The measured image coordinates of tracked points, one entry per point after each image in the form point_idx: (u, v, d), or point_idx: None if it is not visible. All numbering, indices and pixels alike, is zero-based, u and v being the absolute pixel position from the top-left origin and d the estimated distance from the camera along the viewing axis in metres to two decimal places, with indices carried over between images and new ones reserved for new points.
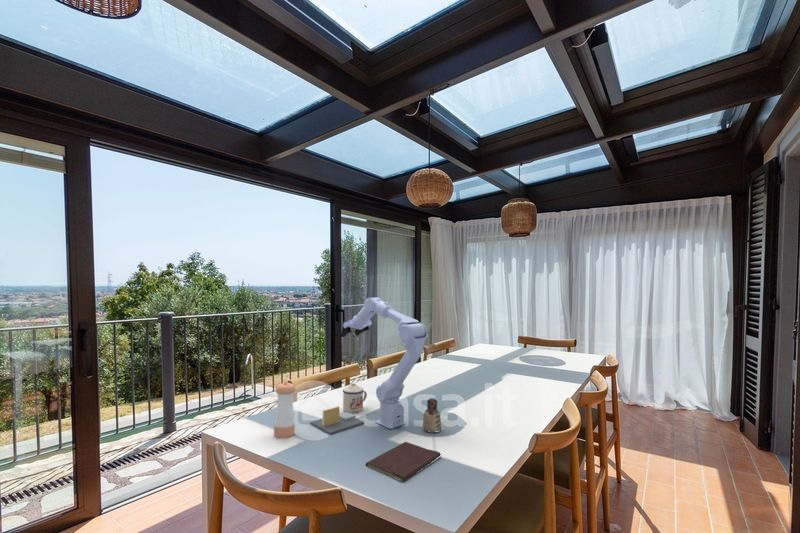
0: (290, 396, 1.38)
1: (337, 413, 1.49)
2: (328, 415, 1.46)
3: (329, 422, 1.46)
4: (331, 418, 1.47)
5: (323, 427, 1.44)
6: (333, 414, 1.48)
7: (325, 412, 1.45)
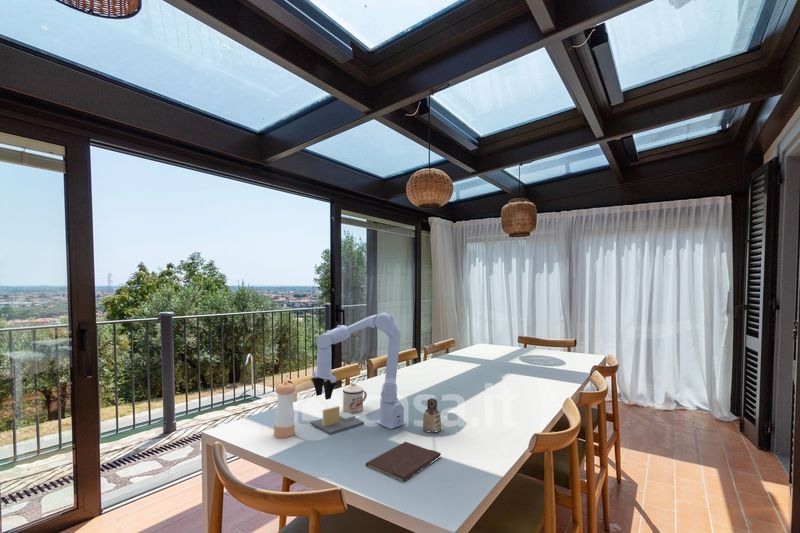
0: (290, 396, 1.38)
1: (337, 413, 1.49)
2: (328, 415, 1.46)
3: (329, 422, 1.46)
4: (331, 418, 1.47)
5: (323, 427, 1.44)
6: (333, 414, 1.48)
7: (325, 412, 1.45)
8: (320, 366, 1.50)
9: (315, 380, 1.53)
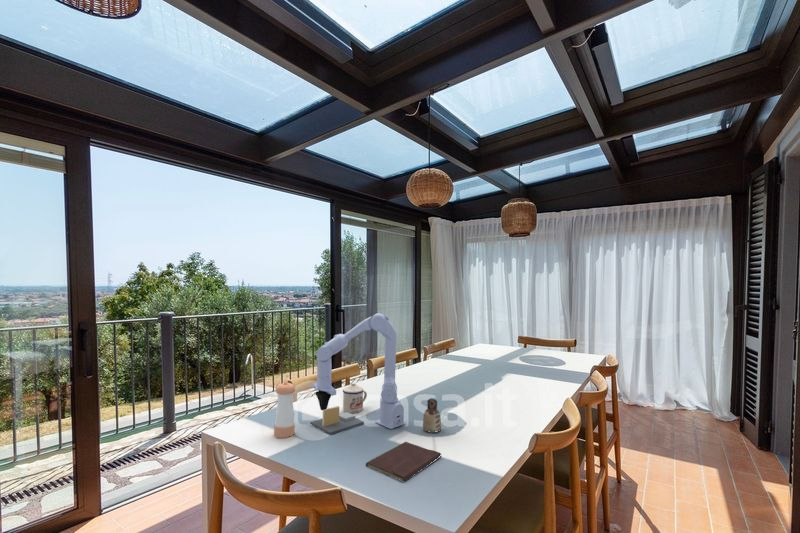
0: (290, 396, 1.38)
1: (337, 413, 1.49)
2: (328, 415, 1.46)
3: (329, 422, 1.46)
4: (331, 418, 1.47)
5: (323, 427, 1.44)
6: (333, 414, 1.48)
7: (325, 412, 1.45)
8: (320, 379, 1.49)
9: None
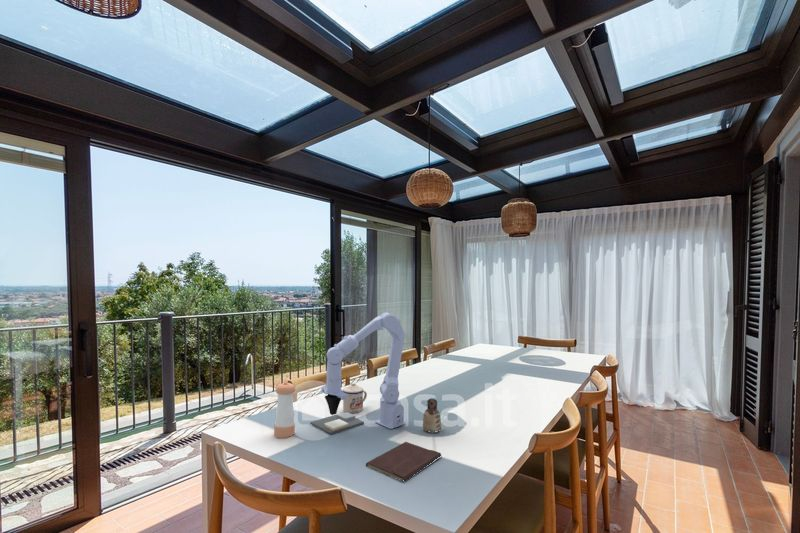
0: (290, 396, 1.38)
1: None
2: None
3: None
4: None
5: (323, 427, 1.44)
6: None
7: None
8: (330, 382, 1.44)
9: None
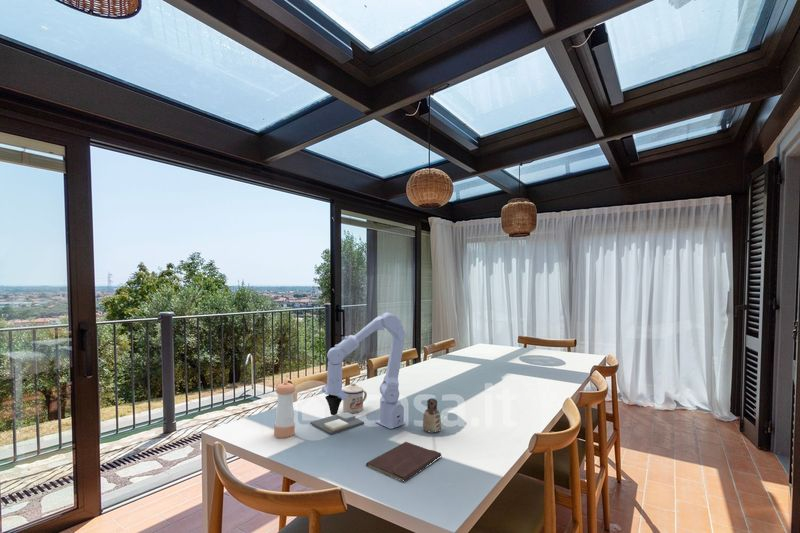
0: (290, 396, 1.38)
1: None
2: None
3: None
4: None
5: (323, 427, 1.44)
6: None
7: None
8: (330, 382, 1.44)
9: None
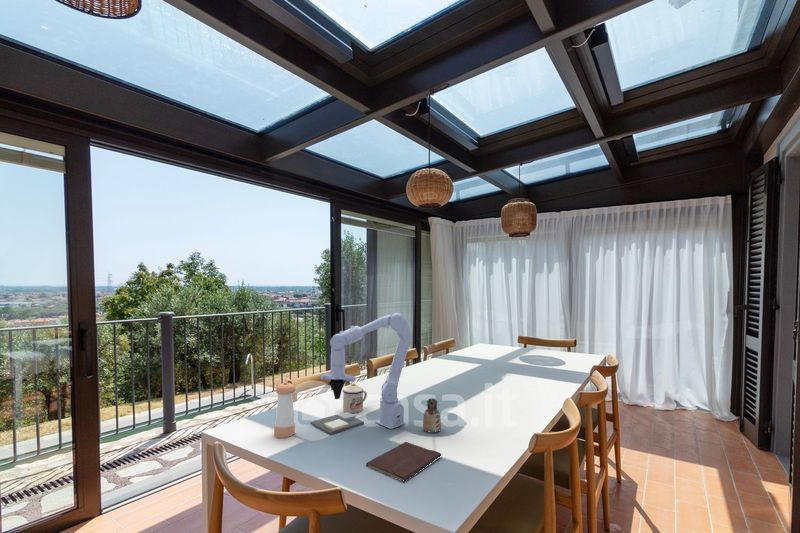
0: (290, 396, 1.38)
1: None
2: None
3: None
4: None
5: (323, 427, 1.44)
6: None
7: None
8: (338, 367, 1.49)
9: None
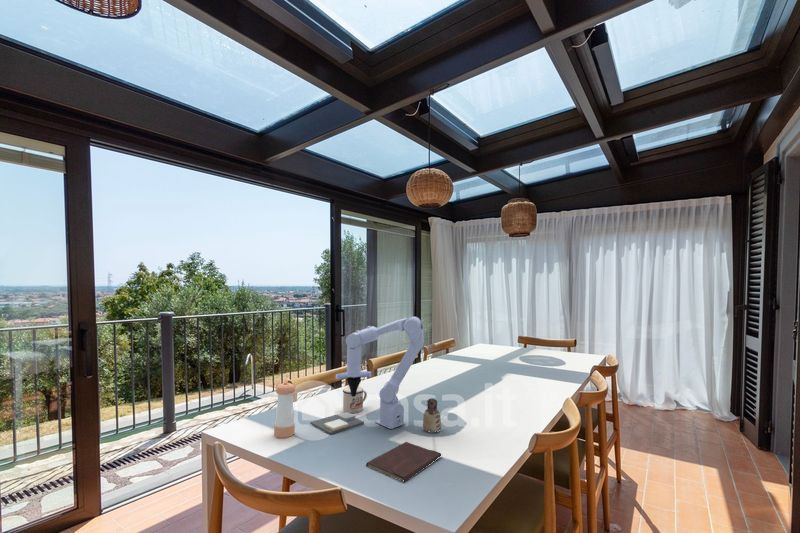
0: (290, 396, 1.38)
1: None
2: None
3: None
4: None
5: (323, 427, 1.44)
6: None
7: None
8: (358, 365, 1.53)
9: None
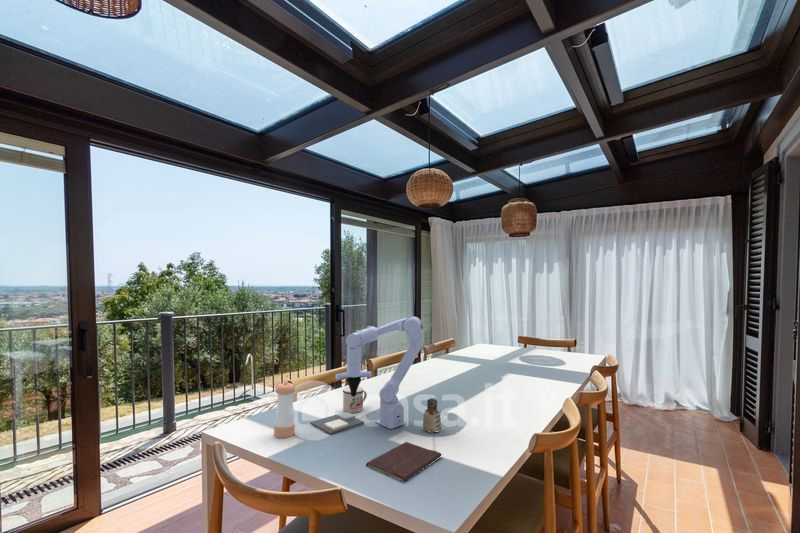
0: (290, 396, 1.38)
1: None
2: None
3: None
4: None
5: (323, 427, 1.44)
6: None
7: None
8: (358, 365, 1.53)
9: None
